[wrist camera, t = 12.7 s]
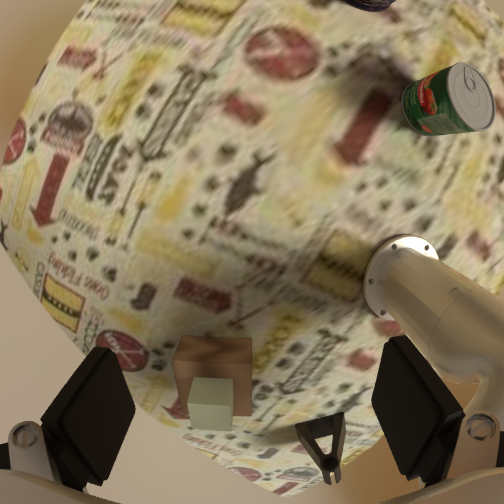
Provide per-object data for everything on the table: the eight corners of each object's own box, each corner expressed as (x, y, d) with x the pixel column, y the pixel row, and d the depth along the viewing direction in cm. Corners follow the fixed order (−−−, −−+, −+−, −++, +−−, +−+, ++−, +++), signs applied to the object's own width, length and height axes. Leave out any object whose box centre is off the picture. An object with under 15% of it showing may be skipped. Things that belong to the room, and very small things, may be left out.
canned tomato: (447, 139, 32) (499, 136, 21) (403, 133, 32) (453, 126, 21) (441, 87, 29) (489, 72, 19) (397, 78, 30) (441, 54, 19)
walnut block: (252, 338, 40) (252, 364, 34) (251, 389, 42) (251, 416, 37) (181, 335, 40) (172, 360, 34) (189, 386, 42) (182, 412, 37)
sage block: (232, 378, 35) (230, 405, 30) (233, 404, 36) (231, 431, 31) (193, 376, 35) (187, 403, 30) (197, 402, 36) (192, 428, 31)
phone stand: (300, 440, 47) (307, 490, 35) (294, 423, 45) (302, 476, 33) (345, 429, 46) (359, 477, 34) (343, 411, 44) (360, 462, 33)
